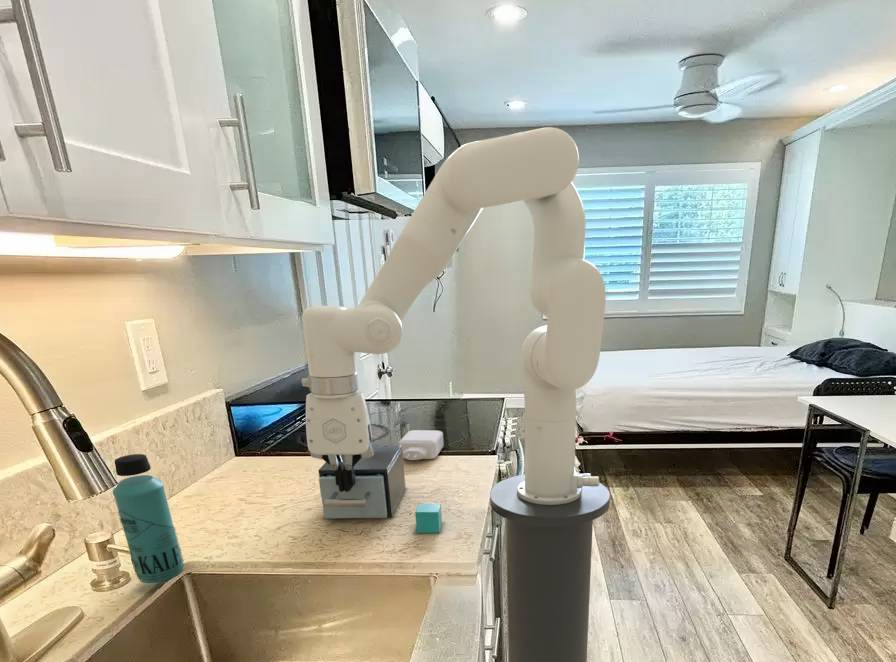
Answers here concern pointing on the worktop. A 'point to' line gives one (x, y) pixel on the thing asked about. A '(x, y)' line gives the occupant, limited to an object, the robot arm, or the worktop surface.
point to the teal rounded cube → (428, 518)
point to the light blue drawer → (354, 497)
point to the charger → (421, 444)
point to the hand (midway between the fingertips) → (346, 488)
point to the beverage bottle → (147, 521)
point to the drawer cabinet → (381, 462)
